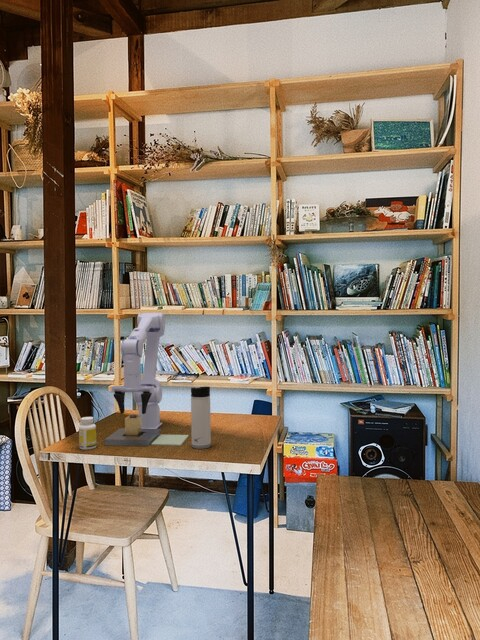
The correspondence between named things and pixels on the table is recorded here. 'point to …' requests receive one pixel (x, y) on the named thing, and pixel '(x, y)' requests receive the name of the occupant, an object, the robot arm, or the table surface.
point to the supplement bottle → (87, 433)
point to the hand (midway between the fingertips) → (133, 413)
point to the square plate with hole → (133, 438)
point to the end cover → (133, 425)
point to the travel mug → (200, 417)
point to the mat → (170, 440)
